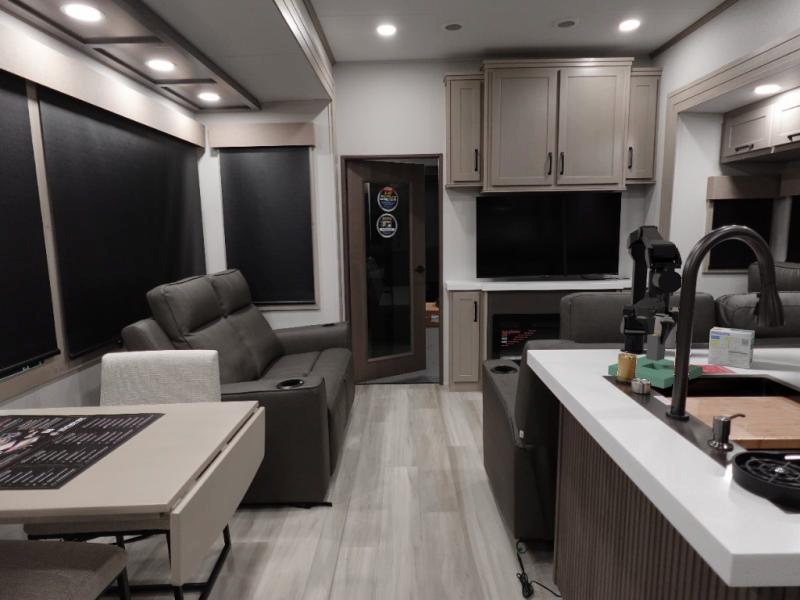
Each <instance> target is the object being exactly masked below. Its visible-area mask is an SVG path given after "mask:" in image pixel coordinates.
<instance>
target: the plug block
mask: <svg viewBox="0 0 800 600" xmlns="http://www.w3.org/2000/svg"><path fill="white" fill-rule="evenodd" d="M646 337H647V340H646V350H647V352H646V355H645V356H646V359H650V360H654V361H658V360H662V359H666V357H665V355H666V348H665V343H664V344H661V341H660V338H661V334H659V333H653V334H649V335H648V336H647V335H646ZM665 342H666V341H665Z"/></svg>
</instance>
